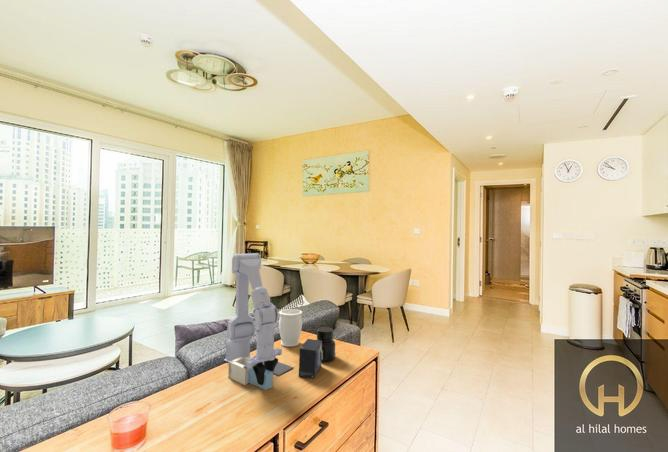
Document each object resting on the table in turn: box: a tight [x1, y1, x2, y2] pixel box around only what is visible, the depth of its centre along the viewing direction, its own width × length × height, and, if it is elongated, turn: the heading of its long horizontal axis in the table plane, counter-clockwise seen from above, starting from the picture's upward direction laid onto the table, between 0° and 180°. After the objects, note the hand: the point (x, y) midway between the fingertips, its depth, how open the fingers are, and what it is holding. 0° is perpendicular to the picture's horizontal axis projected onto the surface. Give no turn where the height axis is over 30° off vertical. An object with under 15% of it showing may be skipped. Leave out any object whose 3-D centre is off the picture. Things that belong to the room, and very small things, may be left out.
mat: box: [262, 361, 294, 377], centre depth 123 cm, size 14×8×1 cm, turn 56°
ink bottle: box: [316, 326, 336, 363], centre depth 132 cm, size 10×9×12 cm
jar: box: [278, 308, 303, 348], centre depth 147 cm, size 11×10×15 cm
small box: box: [298, 338, 322, 379], centre depth 120 cm, size 11×6×10 cm, turn 168°
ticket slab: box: [248, 368, 274, 391], centre depth 110 cm, size 10×3×5 cm, turn 55°
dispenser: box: [227, 356, 252, 386], centre depth 114 cm, size 9×7×6 cm
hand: (264, 381), depth 108 cm, fingers closed on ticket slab, 3 cm apart
